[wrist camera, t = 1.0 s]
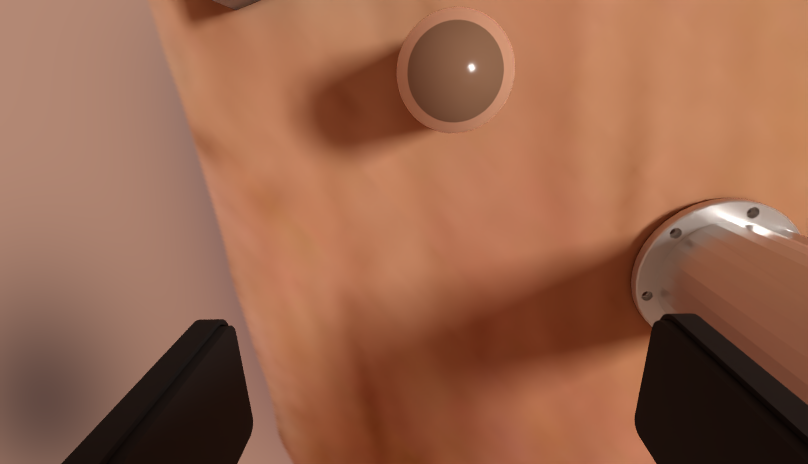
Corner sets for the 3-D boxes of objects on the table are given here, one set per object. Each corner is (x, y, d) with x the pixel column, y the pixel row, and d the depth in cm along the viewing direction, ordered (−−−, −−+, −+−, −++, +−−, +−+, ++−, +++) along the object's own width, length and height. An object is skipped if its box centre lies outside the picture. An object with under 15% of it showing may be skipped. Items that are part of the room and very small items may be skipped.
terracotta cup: (479, 14, 28) (498, -13, 21) (502, 106, 30) (527, 112, 23) (392, 46, 29) (380, 32, 22) (419, 133, 31) (417, 148, 24)
